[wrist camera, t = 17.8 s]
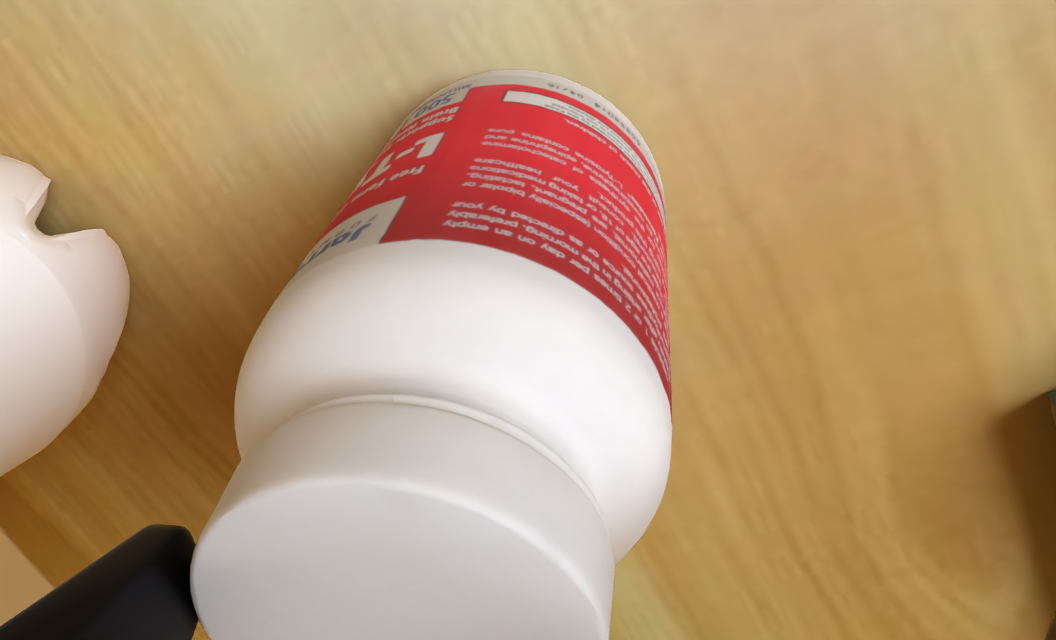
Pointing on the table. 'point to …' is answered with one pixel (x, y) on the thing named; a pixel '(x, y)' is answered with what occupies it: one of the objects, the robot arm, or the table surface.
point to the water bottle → (51, 316)
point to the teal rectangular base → (1053, 404)
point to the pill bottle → (457, 387)
